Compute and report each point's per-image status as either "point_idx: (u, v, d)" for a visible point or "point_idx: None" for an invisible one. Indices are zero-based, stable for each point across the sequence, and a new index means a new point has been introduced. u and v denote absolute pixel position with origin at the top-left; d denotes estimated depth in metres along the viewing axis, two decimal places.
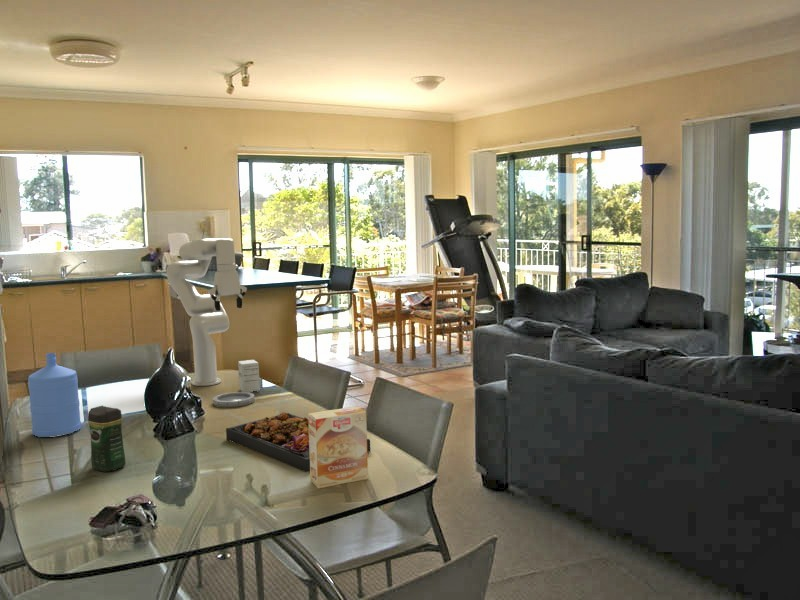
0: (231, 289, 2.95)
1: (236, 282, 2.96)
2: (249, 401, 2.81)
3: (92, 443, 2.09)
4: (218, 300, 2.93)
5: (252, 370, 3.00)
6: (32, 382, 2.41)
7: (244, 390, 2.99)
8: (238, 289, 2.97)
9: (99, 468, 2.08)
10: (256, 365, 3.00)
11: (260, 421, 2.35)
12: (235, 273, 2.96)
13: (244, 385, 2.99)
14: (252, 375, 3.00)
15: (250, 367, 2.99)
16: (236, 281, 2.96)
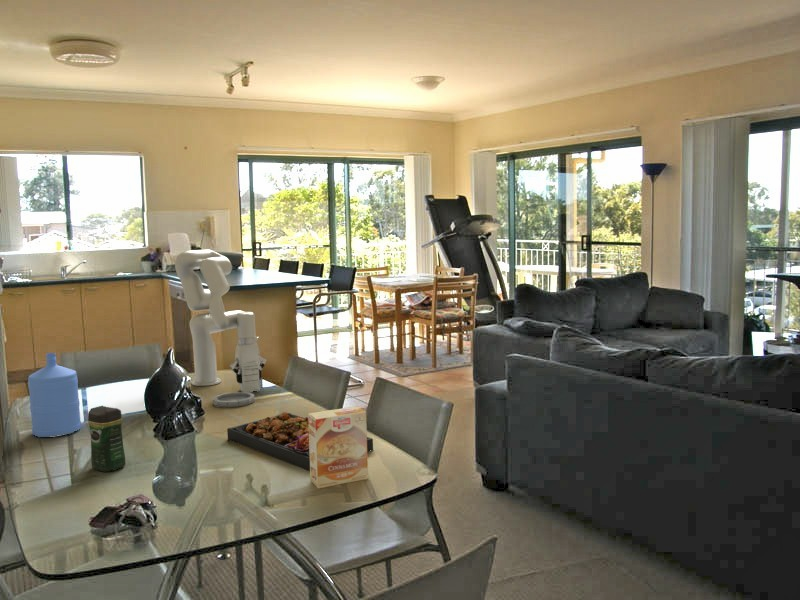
0: (252, 361, 3.01)
1: (256, 354, 3.02)
2: (249, 401, 2.81)
3: (92, 443, 2.09)
4: (240, 373, 2.99)
5: (252, 370, 3.00)
6: (32, 382, 2.41)
7: (244, 390, 2.99)
8: (258, 361, 3.03)
9: (99, 468, 2.08)
10: (256, 365, 3.00)
11: (261, 421, 2.35)
12: (256, 346, 3.01)
13: (244, 385, 2.99)
14: (252, 375, 3.00)
15: (251, 367, 2.99)
16: (256, 353, 3.02)
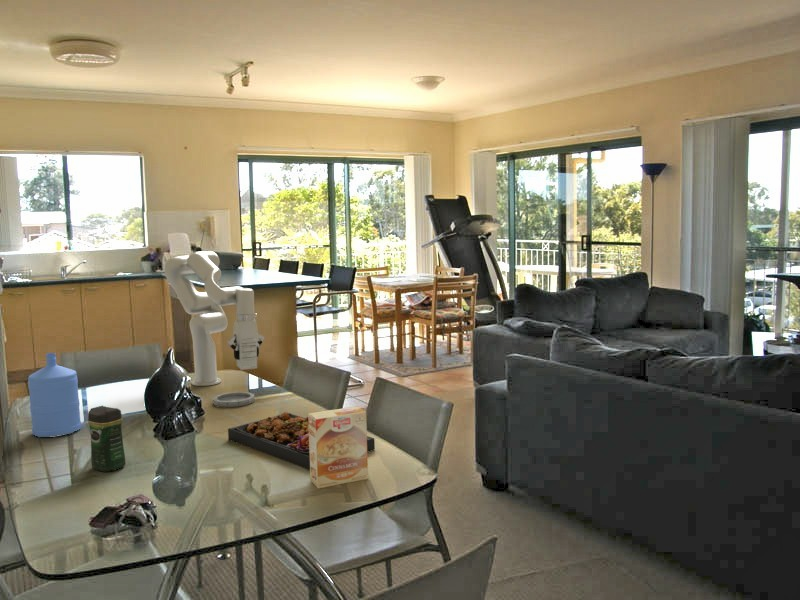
0: (250, 338, 3.00)
1: (255, 331, 3.01)
2: (249, 401, 2.81)
3: (92, 443, 2.09)
4: (237, 349, 2.98)
5: (250, 347, 2.99)
6: (32, 382, 2.41)
7: (241, 367, 2.98)
8: (256, 338, 3.02)
9: (99, 468, 2.08)
10: (254, 342, 2.99)
11: (262, 421, 2.35)
12: (254, 322, 3.00)
13: (242, 362, 2.98)
14: (250, 351, 2.99)
15: (248, 343, 2.98)
16: (255, 330, 3.01)
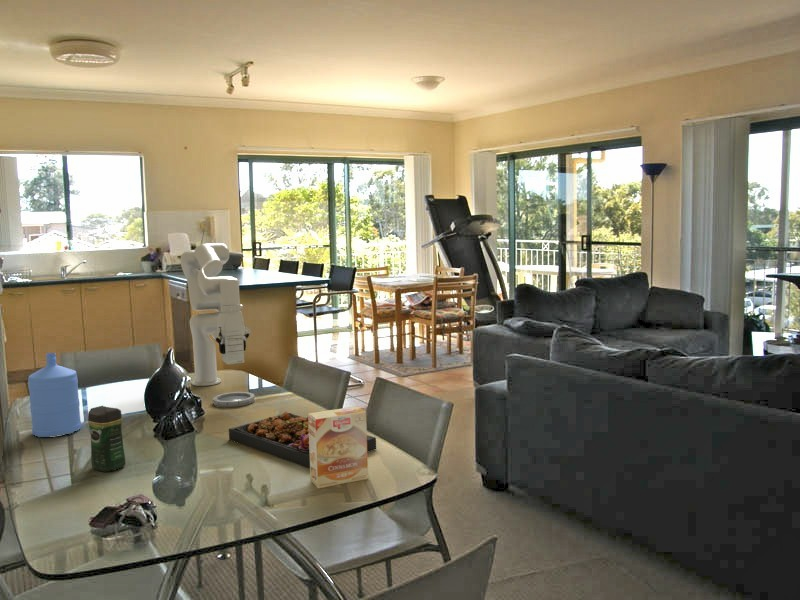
0: (235, 331, 2.81)
1: (241, 323, 2.83)
2: (249, 401, 2.81)
3: (92, 443, 2.09)
4: (223, 343, 2.80)
5: (236, 340, 2.80)
6: (32, 382, 2.41)
7: (228, 361, 2.80)
8: (243, 330, 2.84)
9: (99, 468, 2.08)
10: (240, 334, 2.81)
11: (263, 421, 2.35)
12: (240, 314, 2.82)
13: (227, 356, 2.79)
14: (236, 345, 2.81)
15: (234, 336, 2.80)
16: (241, 322, 2.83)
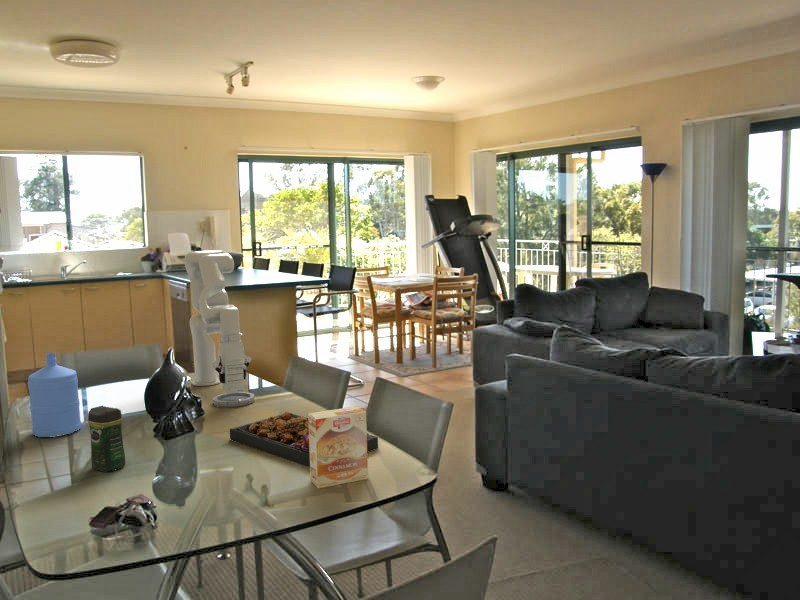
0: (235, 360, 2.81)
1: (241, 352, 2.83)
2: (249, 401, 2.81)
3: (92, 443, 2.09)
4: (223, 372, 2.80)
5: (236, 369, 2.80)
6: (32, 382, 2.41)
7: (227, 390, 2.80)
8: (243, 359, 2.84)
9: (99, 468, 2.08)
10: (240, 364, 2.81)
11: (264, 421, 2.35)
12: (240, 343, 2.82)
13: (227, 385, 2.79)
14: (236, 374, 2.80)
15: (234, 366, 2.80)
16: (241, 351, 2.83)
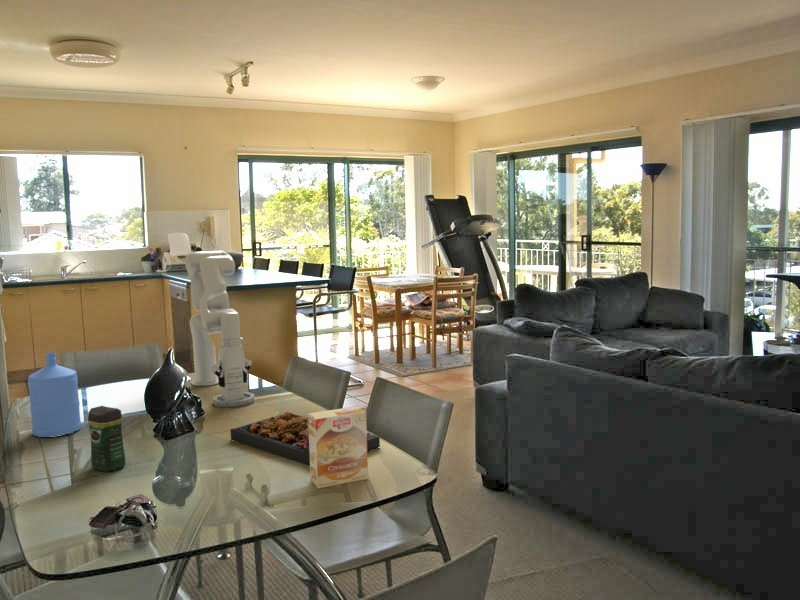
0: (236, 364, 2.82)
1: (241, 357, 2.83)
2: (249, 401, 2.81)
3: (92, 443, 2.09)
4: (222, 376, 2.80)
5: (236, 377, 2.81)
6: (32, 382, 2.41)
7: (227, 399, 2.80)
8: (243, 364, 2.84)
9: (99, 468, 2.08)
10: (240, 372, 2.81)
11: (265, 421, 2.35)
12: (240, 347, 2.82)
13: (227, 394, 2.80)
14: (236, 382, 2.81)
15: (234, 374, 2.80)
16: (241, 355, 2.83)
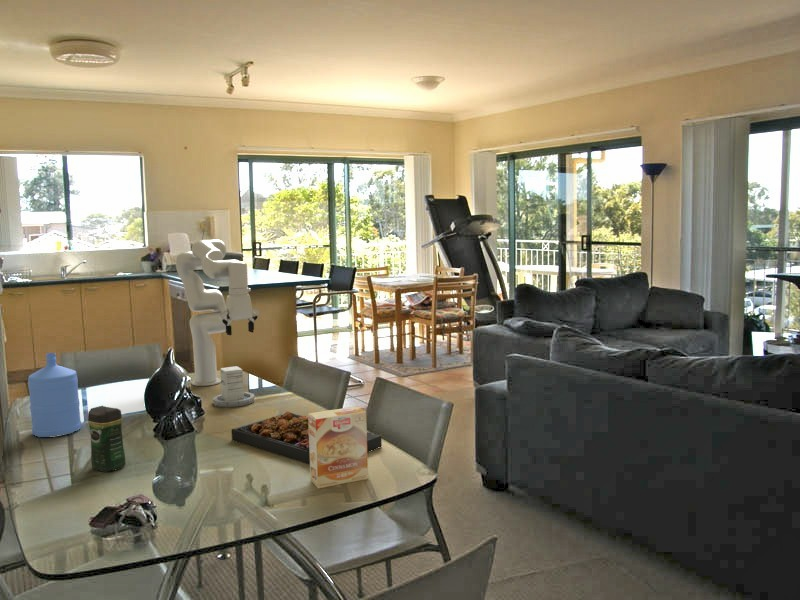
0: (243, 313, 2.87)
1: (248, 306, 2.88)
2: (249, 401, 2.81)
3: (92, 443, 2.09)
4: (229, 325, 2.85)
5: (236, 377, 2.81)
6: (32, 382, 2.41)
7: (227, 399, 2.80)
8: (250, 313, 2.89)
9: (99, 468, 2.08)
10: (240, 372, 2.81)
11: (266, 421, 2.35)
12: (247, 297, 2.87)
13: (227, 394, 2.80)
14: (236, 382, 2.81)
15: (234, 374, 2.80)
16: (248, 305, 2.88)
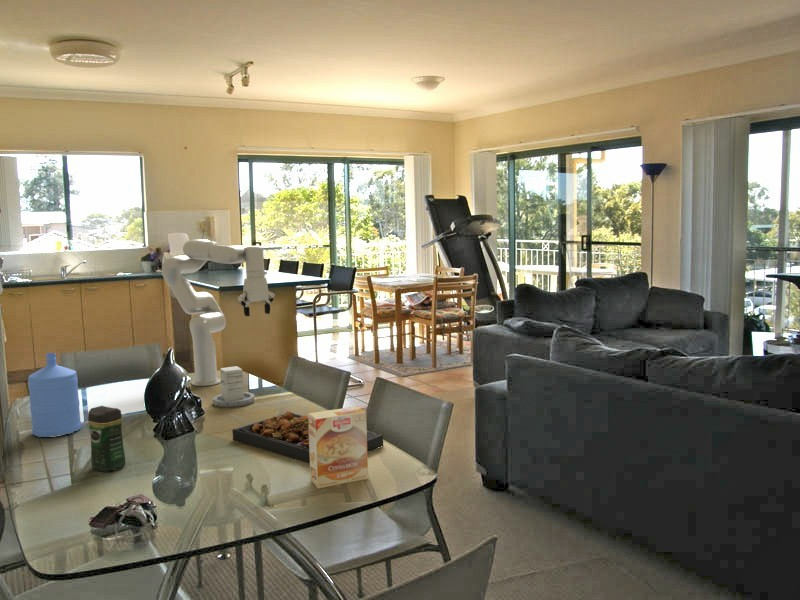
0: (260, 295, 3.00)
1: (265, 288, 3.01)
2: (249, 401, 2.81)
3: (92, 443, 2.09)
4: (247, 306, 2.98)
5: (236, 377, 2.81)
6: (32, 382, 2.41)
7: (227, 399, 2.80)
8: (267, 295, 3.02)
9: (99, 468, 2.08)
10: (240, 372, 2.81)
11: (267, 421, 2.35)
12: (264, 280, 3.01)
13: (227, 394, 2.80)
14: (236, 382, 2.81)
15: (234, 374, 2.80)
16: (265, 287, 3.01)
